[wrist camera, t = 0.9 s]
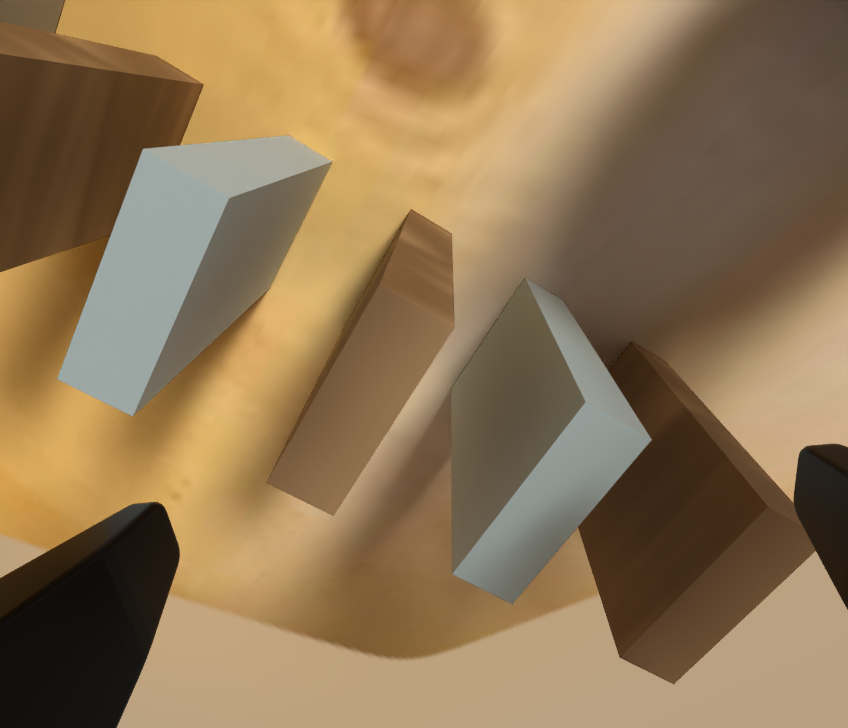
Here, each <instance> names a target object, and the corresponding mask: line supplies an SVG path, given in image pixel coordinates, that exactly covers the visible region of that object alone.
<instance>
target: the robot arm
mask: <svg viewBox="0 0 848 728" xmlns="http://www.w3.org/2000/svg"><path fill="white" fill-rule="evenodd" d="M794 507H795V511H796V514H797V516H798V518H799V520H800V522H801V524H802V526H803V528H804V529H805V531H806V533H807V535H808V537H809V539H810V541H811V543H812V544H813V546H814V548H815V550H816V552H817V553H818V555H819V557H820V559H821V561H822V563H823V565H824V567H825V569H826V570H827V572H828V574H829V576H830V578H831V580H832V582H833V584H834V585H835V587H836V589H837V591H838V593H839V595H840V596H841V599H842V600H843V602H844V604H845V606H846V607H847V609H848V447H846V446H843V445H840V444H823V445H811V446H806V447H805V448H803V449H802V450H801V452H800V454H799V458H798V465H797V473H796V482H795V490H794ZM179 557H180V551H179V545H178V542H177V539H176V536H175V534H174V531H173V528H172V525H171V522H170V520H169V517H168V514H167V511H166V509H165V507H164V506H163V505H162V504H160V503H158V502H148V503H137V504H132V505H129V506H128V507H126V508H124V509H122V510H120V511H119V512H117V513H115V514H113V515H112V516H110V517H108V518H106V519H104V520H103V521H101V522H99V523H97V524H96V525H94V526H92V527H90V528H88V529H87V530H85V531H83V532H81V533H80V534H78V535H76V536H74V537H72V538H71V539H69V540H67V541H65V542H63V543H62V544H60V545H58V546H56V547H55V548H53V549H51V550H49V551H47V552H46V553H44V554H42V555H40V556H39V557H37V558H35V559H33V560H31V561H30V562H28V563H26V564H25V565H23V566H21V567H19V568H17V569H15V570H14V571H12V572H10V573H8V574H7V575H5V576H3V577H1V578H0V728H117V725H118V723H119V721H120V719H121V716H122V714H123V712H124V709H125V707H126V705H127V703H128V701H129V698H130V696H131V694H132V692H133V689H134V687H135V685H136V683H137V680H138V678H139V676H140V673H141V671H142V669H143V666H144V663H145V661H146V659H147V656H148V653H149V650H150V648H151V645H152V642H153V639H154V636H155V633H156V630H157V627H158V624H159V621H160V618H161V615H162V612H163V609H164V606H165V603H166V600H167V597H168V594H169V591H170V588H171V585H172V582H173V579H174V576H175V573H176V570H177V567H178V563H179Z"/></svg>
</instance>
